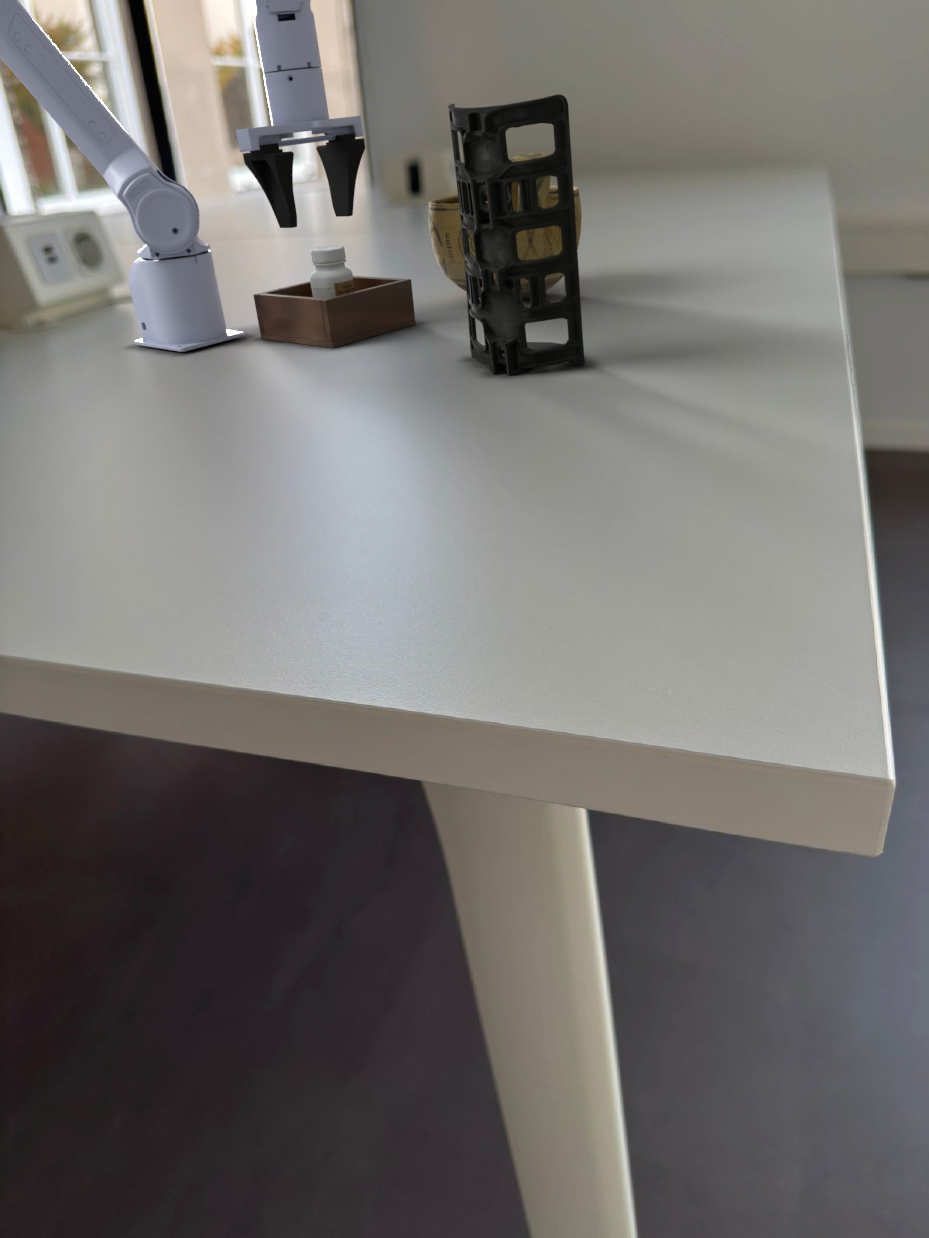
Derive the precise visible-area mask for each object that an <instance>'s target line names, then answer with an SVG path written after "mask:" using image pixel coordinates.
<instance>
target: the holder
mask: <svg viewBox="0 0 929 1238" xmlns="http://www.w3.org/2000/svg"><path fill="white" fill-rule="evenodd" d="M447 109H448V117H449V126H450V135H451V142H452V143H451V144H452V151H453V152H452V153H453V162H454V169H455V170H454V172H455V181H456V188H457V191H456V192H457V195H458V200H459V210H460V219H461V229H462V240H463V251H464V263H465V277H466V291H465V292H466V305H467V318H468V319H467V321H468V336H469V348H470V355H471V357H472V359H474V360H475V361H476V362H478V364H479V363H480V364H481V365H483V366H486V367H489V369H490V372H491V373H492V375H497V374H498V373H500V372H502V371H506V375H507V376H515V375H518V374H521V373H523V372H525V371H527V370H528V369H532V368H533V369H534V368H542V367H549V366H550V367H551V366H555V365H559V364H563V363H570V364H571V365H576V364H581V365H582V366H584V365H585V364H586V359H585V347H584V336H583V335H584V334H583V319H582V318H583V317H582V304H581V302H582V301H581V287H580V271H579V270H580V269H579V256H578V249H577V236H576V220H575V204H574V188H573V186H574V176H573V175H574V174H573V159H572V143H571V128H570V113H569V111H570V110H569V109H570V108H569V102H568V100H567V97H566V96H565V95H564V94H561V93H560V94H553V95H549V96H545V97H539V98H535V99H530V100H524V101H519V102H513V103H506V104H498V105H489V106H480V107H479V106H478V107H477V106H475V107H457V106H455V103H451V104H449V105H448V106H447ZM537 124H548V125H552V127H553V128H552V129H553V142H554V151H553V152H552V153H551V154H547V156H545V157H541V158H535V159H530V160H524V161H516V162H512V161H511V159H510V158H509V153H508V144H507V134H506V133H507V131H508V130H509V129H512V128H513V129H514V128H515V129H517V128H522V127H526V126H531V125H532V126H533V125H537ZM458 132H459V133H458ZM459 134H460V139H461V147H462V155H463V162H462V160H461V150H460V143H459ZM544 176H550V177H555V178H556V183H557V184H556V186H558V197H559V202H558V203H557V204H556V205H555V206H553V207H549V208H542V207H539V204H538V197H537V186H536V182H537V179H538V178H540V177H544ZM516 181H517V182H518V183H519V189H520V200H521V211H519V212H515V211H514V209H513V202H512V193H511V192H512V182H516ZM485 192H486V193H487V200H488V204H487V203H486V201H485ZM469 207H470V208H469ZM550 226H558V227H560V228H561V239H562V250H561V252H560V253H559V254H557V255H554V256H549V257H544V258H539V259H533V260H524V261H523V260H521V259H519V257H518V251H517V241H516V234H517V233H518V232H520V231H523V230H531V229H538V228H546V227H550ZM468 230H470V231H471V233H472V234H473V241H474V249H475V258H473V257H471V256H470V247H469V236H468ZM493 273H495V274H496V279H497V284H495V282H494V275H493ZM554 273H562V274H564V276H563V281H564V282H563V283H564V293H565V296H564V297H563V298H561V299H559V300H556V301H549V300H548V299H547V293H546V292H547V291H546V289H545V277H546V276H547V275H549V274H554ZM522 278H524V279H526V280H528V281H529V291H530V298H529V300H530V304H529V305H525V304H524V302H523V299H522V292H521V280H520V279H522ZM477 280H478V281H477ZM478 287H479V291H478ZM479 295H480V297H479ZM559 319H560V320H561V319H562V320H563V319H564V320H566V323H567V338H568V339H567V341H566V342H565V343H559V342H551V341H550V342H549V341H527V330H526V325H527V324H531V323H532V324H533V323H539V322H546V321H552V320H559ZM476 320H478V321H479V322H480V323H481V325H482V330H483V338H484V344H482V343H481V342H479V341H478V336H477V323H476V322H477V321H476Z"/></svg>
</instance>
